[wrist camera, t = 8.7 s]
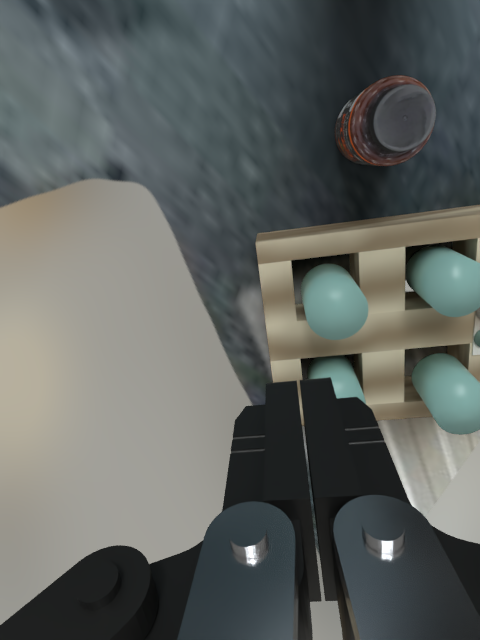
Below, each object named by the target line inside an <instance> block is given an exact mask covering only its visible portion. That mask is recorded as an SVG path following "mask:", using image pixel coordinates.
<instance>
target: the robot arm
mask: <svg viewBox="0 0 480 640" xmlns="http://www.w3.org/2000/svg"><path fill="white" fill-rule="evenodd" d="M300 390H301V399H302V408H303V418H304V427H305V436H306V445H307V454H308V462H309V470H310V479H311V487H312V495H313V503H314V511H315V520H316V528H317V536H318V544H319V552H320V561H321V568H322V577H323V585H324V593H325V600H326V601H338V606H339V613H340V620H341V627H342V635H343V640H480V544H477V543H473V542H468V541H465V540H461V539H457V538H455V537H452V536H450V535H447V534H445V533H443V532H441V531H440V530H438V529H436V528H435V527H433V526H431V525H430V523H429V522H428V520H427V519H426V518H425V517H424V516H423V515H422V514H421V513H420V512H419V511H418V510H417V509H416V508H414V507H412V505H411V504H410V502H409V500H408V498H407V495H406V493H405V490H404V488H403V485H402V483H401V480H400V478H399V475H398V473H397V470H396V468H395V465H394V463H393V460H392V458H391V455H390V453H389V450H388V448H387V446H386V443H384V438H383V436H382V433H381V431H380V429H379V427H378V423H377V421H376V418H375V416H374V413H373V411H372V409H371V408H370V407H369V406H367V405H366V404H365V403H364V402H363V401H361V400H360V399H359V398H358V397H348V398H336V395H335V391H334V387H333V384H332V380H331V377H328V378H317V379H306V380H300ZM312 601H321V592H320V583H319V574H318V566H317V556H316V547H315V538H314V529H313V520H312V511H311V502H310V493H309V484H308V476H307V467H306V458H305V449H304V440H303V432H302V423H301V414H300V405H299V396H298V387H297V380H296V381H285V382H274V383H266V405H255V406H246V407H245V408H244V409H243V411H242V412H241V414H240V415H239V416H238V417H237V419H236V420H235V425H234V433H233V440H232V447H231V454H230V461H229V468H228V475H227V482H226V489H225V496H224V503H223V510H222V512H221V513H220V514H219V515H218V516H217V517H216V518H215V519H214V520H213V521H212V523H211V524H210V526H209V527H208V529H207V531H206V534H205V536H204V540H203V541H202V542H200V543H199V544H198V545H196V546H194V547H193V548H191V549H189V550H187V551H184V552H182V553H180V554H177V555H174V556H171V557H168V558H165V559H163V560H160V561H157V562H154V563H151V564H148V561H147V559H146V557H145V556H144V555H143V554H142V553H141V552H140V551H138V550H137V549H135V548H132V547H129V546H111V547H107V548H103V549H100V550H98V551H96V552H93V553H92V554H90V555H88V556H86V557H85V558H84V559H82V560H81V561H79V562H78V563H77V564H76V565H74V566H73V567H72V568H71V569H69V570H68V571H67V572H66V573H64V574H63V575H62V576H61V577H59V578H58V579H57V580H56V581H54V582H53V583H52V584H51V585H50V586H48V587H47V588H46V589H45V590H43V591H42V592H41V593H40V594H38V595H37V596H36V597H35V598H34V599H32V600H31V601H30V602H29V603H27V604H26V605H25V606H24V607H22V608H21V609H20V610H19V611H17V612H16V613H15V614H14V615H13V616H11V617H10V618H9V619H8V620H6V621H5V622H4V623H3V624H2V625H0V640H312V623H311V610H310V602H312Z"/></svg>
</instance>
